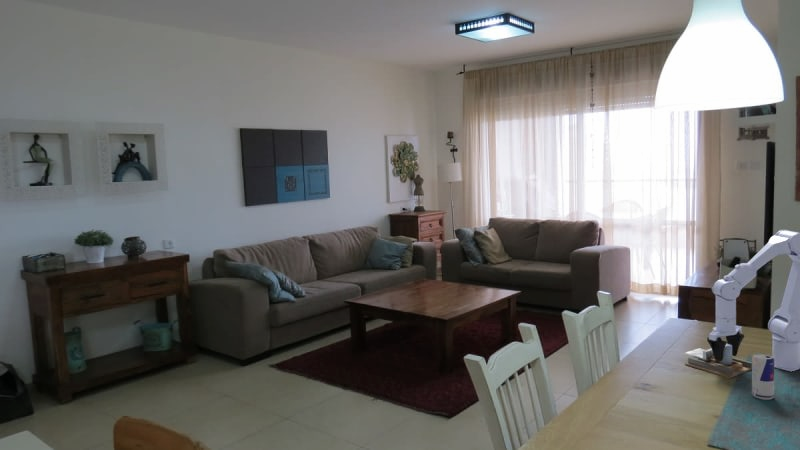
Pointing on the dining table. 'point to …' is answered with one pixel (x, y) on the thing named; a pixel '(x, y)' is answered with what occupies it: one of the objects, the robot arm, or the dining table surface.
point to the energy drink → (763, 376)
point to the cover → (701, 354)
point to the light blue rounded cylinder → (727, 356)
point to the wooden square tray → (721, 366)
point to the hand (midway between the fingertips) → (725, 357)
